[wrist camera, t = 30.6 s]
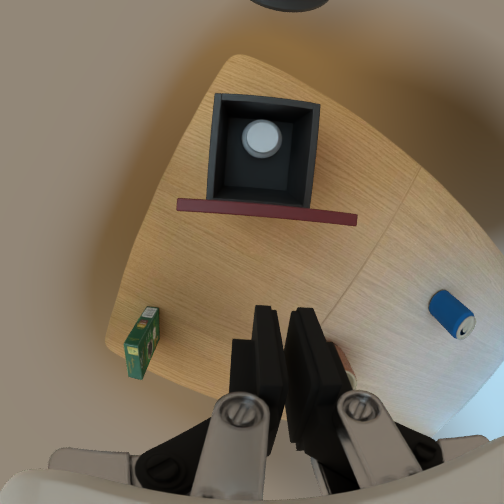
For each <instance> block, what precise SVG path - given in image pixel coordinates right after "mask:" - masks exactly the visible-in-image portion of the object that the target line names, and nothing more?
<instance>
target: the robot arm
mask: <svg viewBox="0 0 504 504" xmlns="http://www.w3.org/2000/svg"><path fill="white" fill-rule="evenodd" d="M284 406H285V408H286V415H287V422H288V429H289V437H290V442H291V443H296V449H297V451H302V450H304V451H305V453H306V454H307V455H309V456H310V457H311V464H312V467H313V470H314V474H315V476H316V479H317V483H318V486H319V489H320V492H321V495H322V496H319V497H310V498H301V499H289V500H288V499H287V500H266V501H265V500H264V501H263V490H264V480H265V468H266V457H267V456H269V455H270V453H271V450H272V447H273V444H274V441H275V437H276V434H277V431H278V427H279V423H280V420H281V416H282V413H283V409H284ZM0 504H504V436H502V437H500V438H497V439H494V440H492V441H489V440H488V439H487V438H486V437H484V436H482V435H472V436H464V437H456V438H444V439H438V441H437V442H436V441H435V440H434V439H432V438H430V437H428V436H426V435H423V434H421V433H419V432H416V431H414V430H412V429H410V428H407V427H405V426H403V425H401V424H399V423H397V422H394V421H393V419H392V418H391V416H390V414H389V413H388V411H387V410H386V408H385V406H384V405H383V403H382V402H381V400H380V399H379V398H378V397H377V396H375V395H374V394H372V393H370V392H367V391H363V390H353V388H352V386H351V383H350V381H349V378H348V376H347V373H346V371H345V368H344V366H343V363H342V361H341V359H340V356H339V354H338V351H337V349H336V347H335V345H334V343H333V342H326V339H325V336H324V334H323V331H322V329H321V326H320V324H319V321H318V319H317V316H316V314H315V311H314V309H313V308H302V307H298V308H297V310H296V311H292V312H291V316H290V321H289V327H288V332H287V337H286V343H285V348H284V349H283V344H282V338H281V332H280V327H279V321H278V316H277V311H276V310H271V306H264V305H256V306H255V312H254V322H253V331H252V340H243V339H233V340H232V354H231V369H230V384H229V393H228V394H226V395H224V396H222V397H221V398H220V399H219V400H218V401H217V402H216V404H215V406H214V409H213V413H212V417H210V418H208V419H207V420H205V421H203V422H202V423H200V424H198V425H196V426H194V427H193V428H191V429H189V430H187V431H185V432H183V433H182V434H180V435H178V436H176V437H174V438H172V439H170V440H168V441H166V442H164V443H162V444H160V445H158V446H157V447H154V448H152V449H150V450H148V451H146V452H145V453H143V454H142V455H130V454H129V452H109V451H96V450H85V449H77V448H60V449H58V450H56V451H55V452H54V453H53V454H52V455H51V457H50V459H49V464H48V469H29V470H24V471H21V472H19V473H17V474H15V475H14V476H13V477H11V478H10V480H8V482H7V483H6V484H5V486H4V487H3V488H2V490H1V491H0Z"/></svg>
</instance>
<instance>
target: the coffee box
mask: <svg viewBox="0 0 504 504" xmlns="http://www.w3.org/2000/svg"><path fill="white" fill-rule="evenodd" d="M159 339H160V338H159V308H156V307H149V306H147V307H146V308H145V310H144V312H143V313H142V315H141V316H140V318H139V319H138V321H137V323H136V324H135V326H134V327H133V329H132V331H131V332H130V334H129V335H128V337H127V339H126V340H125V342H124V351H125V358H126V364H127V371H128V376H129V377H132V378H135V379H140V380H142V379H143V377H144V374H145V372H146V370H147V367H148V365H149V362H150V360H151V358H152V355H153V353H154V351H155V348H156V346H157V344H158V341H159Z"/></svg>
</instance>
